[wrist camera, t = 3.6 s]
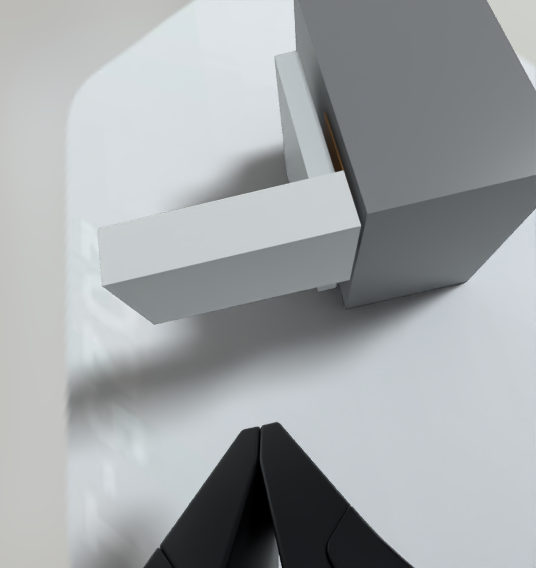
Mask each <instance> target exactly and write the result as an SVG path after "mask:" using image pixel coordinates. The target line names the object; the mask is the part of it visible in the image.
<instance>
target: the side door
mask: <svg viewBox="0 0 536 568" xmlns="http://www.w3.org/2000/svg"><path fill="white" fill-rule="evenodd" d="M274 58H275V67H276V77H277V86H278V96H279V105H280V115H281V124H282V133H283V143H284V152H285V162H286V171H287V175H288V179H289V183H288V184H284V185H279V186H275V187H271V188H267V189H262V190H258V191H254V192H250V193H245V194H241V195H237V196H233V197H228V198H224V199H220V200H216V201H211V202H207V203H203V204H199V205H194V206H190V207H186V208H182V209H177V210H173V211H169V212H165V213H160V214H156V215H152V216H148V217H143V218H139V219H135V220H131V221H126V222H122V223H118V224H114V225H109V226H105V227H101V228H97V230H98V243H99V256H100V269H101V282H102V286H103V287H104V288H105V289H107V290H108V291H109V292H111V293H112V294H113V295H115V296H116V297H118V298H119V299H120V300H122V301H123V302H124V303H126V304H127V305H128V306H130V307H131V308H132V309H134V310H135V311H137V312H138V313H139V314H141V315H142V316H143V317H145V318H146V319H147V320H149V321H150V322H151V323H153V324H154V325H155V324H159V323H164V322H168V321H172V320H177V319H181V318H185V317H190V316H194V315H198V314H203V313H207V312H212V311H216V310H220V309H225V308H229V307H233V306H238V305H242V304H246V303H251V302H255V301H260V300H264V299H268V298H273V297H277V296H281V295H286V294H290V293H294V292H299V291H303V290H308V289H312V288H316V287H317V290H318V292H319V291H323V290H328V289H332V288H336V284H337V283H338V282H342V281H347V280H350V276H351V271H352V267H353V262H354V257H355V253H356V248H357V243H358V238H359V234H360V229H361V224H360V221H359V218H358V214H357V211H356V208H355V205H354V202H353V199H352V195H351V192H350V189H349V186H348V183H347V180H346V176H345V173H344V170H343V171H339V172H335V171H334V168H333V164H332V161H331V158H330V155H329V152H328V148H327V145H326V142H325V139H324V135H323V132H322V129H321V126H320V122H319V119H318V116H317V113H316V109H315V106H314V103H313V100H312V96H311V93H310V90H309V87H308V83H307V80H306V77H305V74H304V70H303V67H302V64H301V61H300V57H299V54H298V51H293V52H289V53H285V54H280V55H276V56H274Z"/></svg>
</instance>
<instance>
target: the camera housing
mask: <svg viewBox="0 0 536 568" xmlns="http://www.w3.org/2000/svg"><path fill="white" fill-rule="evenodd" d="M294 14H295V34H296V51H298V54H299V57H300V61H301V64H302V67H303V70H304V74H305V77H306V80H307V83H308V87H309V90H310V93H311V96H312V100H313V103H314V106H315V109H316V113H317V116H318V119H319V122H320V126H321V129H322V132H323V135H324V139H325V142H326V145H327V148H328V152H329V155H330V158H331V161H332V164H333V168H334V171H335V172H339V171H343V170H344V173H345V176H346V180H347V183H348V186H349V189H350V192H351V195H352V199H353V202H354V205H355V208H356V211H357V214H358V218H359V221H360V224H361V229H360V234H359V238H358V243H357V248H356V253H355V257H354V262H353V267H352V271H351V276H350V280H347V281H342V282H338V283H339V286H340V290H341V293H342V297H343V300H344V304H345V307H346V309H349V308H353V307H357V306H362V305H366V304H371V303H375V302H379V301H384V300H388V299H393V298H397V297H401V296H406V295H410V294H415V293H419V292H423V291H428V290H432V289H436V288H441V287H445V286H450V285H454V284H458V283H463V282H467V281H468V280H469V279H470V278H471V277H472V276H473V275H474V274H475V273H476V271H477V270H478V269H479V268H480V267H481V266H482V265H483V264H484V263H485V262H486V261H487V260H488V259H489V258H490V257H491V255H492V254H493V253H494V252H495V251H496V250H497V249H498V248H499V247H500V246H501V245H502V244H503V243H504V242H505V241H506V240H507V238H508V237H509V236H510V235H511V234H512V233H513V232H514V231H515V230H516V229H517V228H518V227H519V226H520V225H521V224H522V222H523V221H524V220H525V219H526V218H527V217H528V216H529V215H530V214H531V213H532V212H533V211H534V210H535V209H536V90H535V89H534V87H533V85H532V83H531V81H530V79H529V78H528V76H527V74H526V72H525V70H524V68H523V66H522V65H521V63H520V61H519V59H518V57H517V55H516V54H515V52H514V50H513V48H512V46H511V44H510V43H509V41H508V39H507V37H506V36H505V33H504V31H503V30H502V28H501V26H500V24H499V22H498V20H497V18H496V17H495V15H494V13H493V11H492V9H491V8H490V6H489V4H488V2H487V0H294Z"/></svg>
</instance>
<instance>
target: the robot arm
mask: <svg viewBox="0 0 536 568" xmlns="http://www.w3.org/2000/svg"><path fill="white" fill-rule="evenodd" d="M279 556H280V561H281V565H282V568H414V567H413V566H412V565H411V564H409V563H408V562H407V561H406V560H405V559H404V558H402V557H401V556H400V555H399V554H398V553H397V552H396V551H395V550H394V549H393V548H392V547H391V546H389V545H388V544H387V543H386V542H385V541H384V540H383V539H382V538H381V537H380V536H379V535H378V534H377V533H376V532H375V531H374V530H373V529H372V528H371V527H370V526H369V524H368V523H367V522H366V521H365V520H364V519H363V518H362V517H361V516H360V515H359V513H358V512H357V511H356V510H355V509H354V508H353V507H351V505H350V504H349V503H348V501H347V500H346V499H345V498H344V497H343V496H342V495H341V493H340V492H339V491H338V490H337V489H336V488H335V486H334V485H333V484H332V483H331V482H330V481H329V480H328V478H327V477H326V476H325V475H324V474H323V473H322V471H321V470H320V469H319V468H318V467H317V466H316V465H315V463H314V462H313V461H312V460H311V459H310V458H309V456H308V455H307V454H306V453H305V452H304V451H303V449H302V448H301V447H300V446H299V445H298V444H297V443H296V441H295V440H294V439H293V438H292V437H291V436H290V434H289V433H288V432H287V431H286V430H285V429H284V428H283V426H282V425H281V424H280V423H278V422H275V423H271V424H266V425H263V426H262V427H261V428H260V427H253V428H248V429H244V430H242V431H241V432H240V434H239V435H238V436H237V438H236V439H235V441H234V442H233V443H232V445H231V446H230V448H229V449H228V450H227V452H226V453H225V455H224V456H223V458H222V459H221V460H220V462H219V463H218V465H217V466H216V467H215V469H214V470H213V472H212V473H211V474H210V476H209V477H208V479H207V480H206V481H205V483H204V484H203V486H202V487H201V488H200V490H199V491H198V493H197V494H196V496H195V497H194V498H193V500H192V501H191V503H190V504H189V505H188V507H187V508H186V510H185V511H184V512H183V514H182V515H181V517H180V518H179V519H178V521H177V522H176V524H175V525H174V527H173V528H172V529H171V531H170V532H169V534H168V535H167V536H166V538H165V539H164V541H163V542H162V543H161V545H160V548H157V549H156V551H155V552H154V554H153V555H152V556H151V558H150V559H149V561H148V562H147V563H146V565H145V566H144V567H143V568H278V557H279Z"/></svg>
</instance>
